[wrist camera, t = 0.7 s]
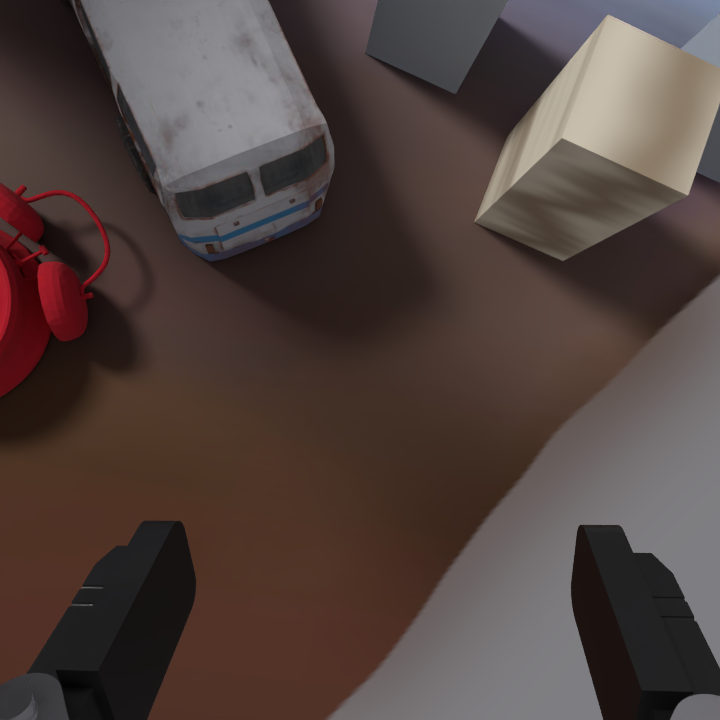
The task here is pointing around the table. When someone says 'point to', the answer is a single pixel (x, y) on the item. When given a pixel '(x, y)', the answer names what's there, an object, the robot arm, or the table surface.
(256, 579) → the table surface
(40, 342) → the alarm clock
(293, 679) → the table surface
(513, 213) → the birch block
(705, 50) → the digit block one
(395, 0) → the digit block eleven
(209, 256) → the toy bus
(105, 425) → the table surface
